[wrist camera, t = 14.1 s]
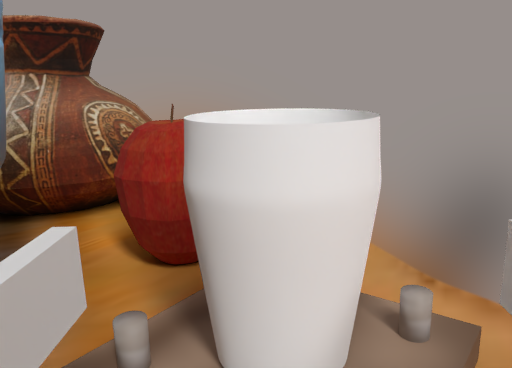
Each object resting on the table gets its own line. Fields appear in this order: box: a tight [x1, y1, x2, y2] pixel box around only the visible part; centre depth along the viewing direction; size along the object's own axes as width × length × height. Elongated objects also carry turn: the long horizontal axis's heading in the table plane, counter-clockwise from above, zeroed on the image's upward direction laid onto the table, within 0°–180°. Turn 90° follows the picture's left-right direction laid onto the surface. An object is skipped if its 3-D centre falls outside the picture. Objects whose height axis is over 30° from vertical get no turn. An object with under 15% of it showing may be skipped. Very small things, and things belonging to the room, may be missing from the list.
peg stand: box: [62, 285, 481, 368], centre depth 22 cm, size 16×16×4 cm
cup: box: [183, 108, 381, 368], centre depth 21 cm, size 9×9×12 cm
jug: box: [0, 15, 152, 215], centre depth 59 cm, size 30×30×25 cm
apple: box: [113, 104, 198, 264], centre depth 38 cm, size 10×10×14 cm
